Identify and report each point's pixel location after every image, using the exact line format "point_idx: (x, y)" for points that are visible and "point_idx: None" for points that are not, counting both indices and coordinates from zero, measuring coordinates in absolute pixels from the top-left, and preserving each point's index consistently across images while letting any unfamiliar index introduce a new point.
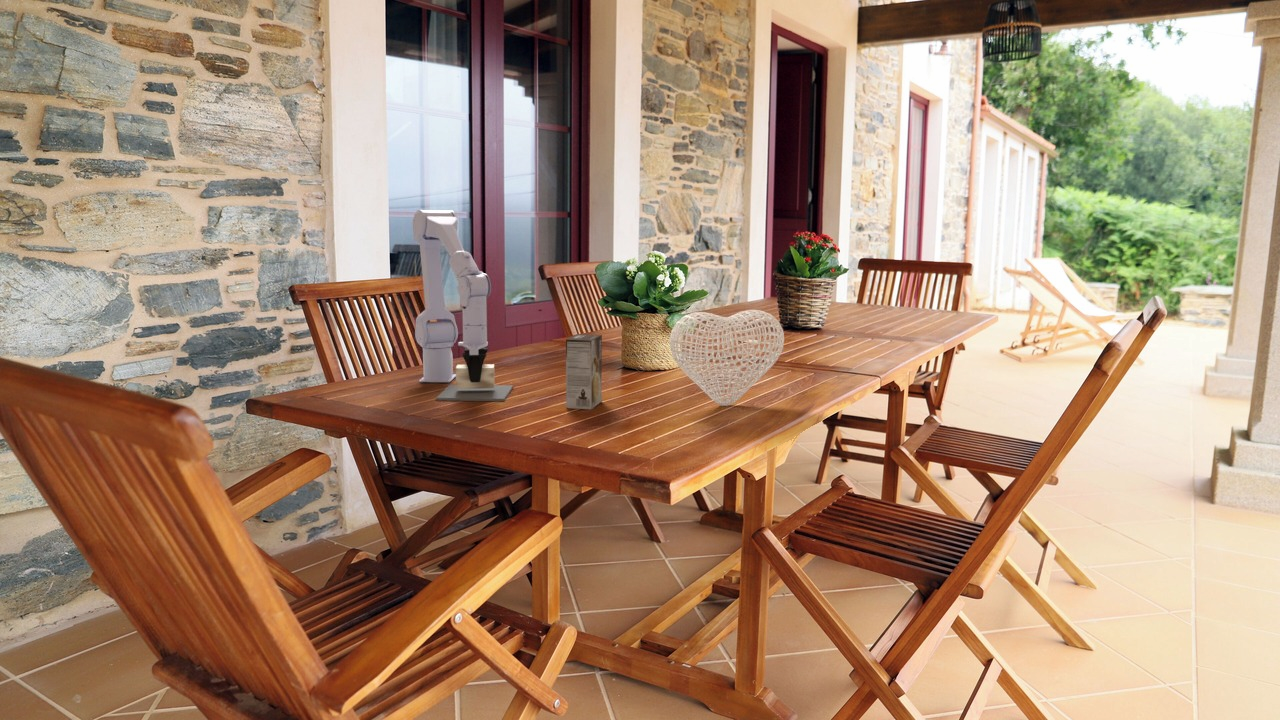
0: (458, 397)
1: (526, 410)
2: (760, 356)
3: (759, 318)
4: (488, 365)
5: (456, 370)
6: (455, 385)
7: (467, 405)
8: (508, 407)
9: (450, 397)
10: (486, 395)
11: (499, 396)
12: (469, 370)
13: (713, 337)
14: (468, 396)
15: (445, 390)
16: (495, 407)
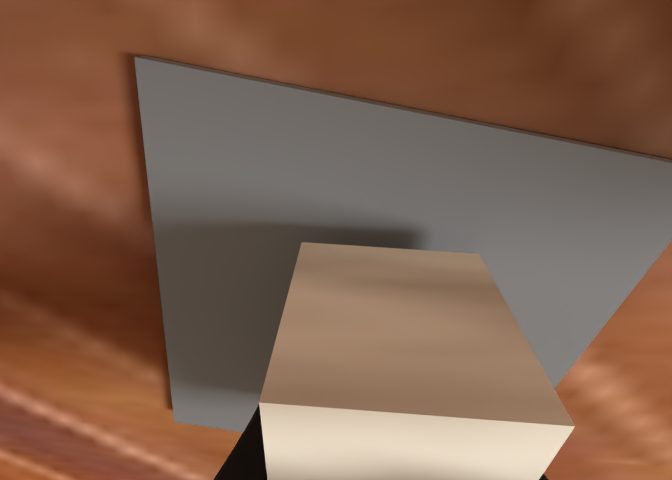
0: (179, 234)
1: (27, 450)
2: None
3: None
4: None
5: (268, 380)
6: (655, 218)
7: (43, 270)
8: (59, 412)
9: (169, 181)
10: (249, 370)
11: (226, 411)
12: (219, 477)
13: None
14: (216, 291)
15: (464, 138)
16: (42, 375)
